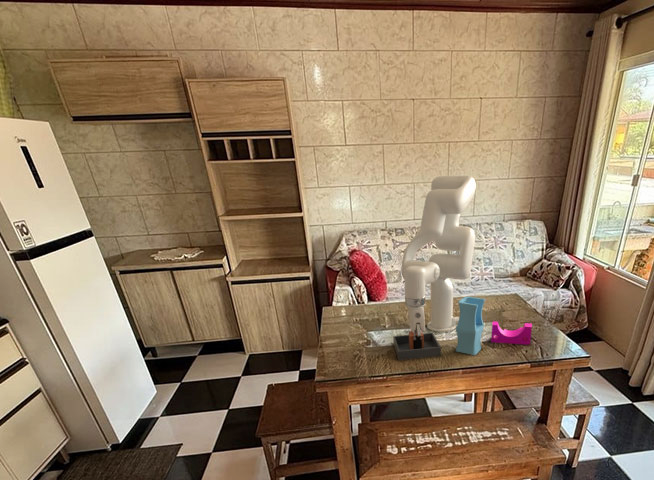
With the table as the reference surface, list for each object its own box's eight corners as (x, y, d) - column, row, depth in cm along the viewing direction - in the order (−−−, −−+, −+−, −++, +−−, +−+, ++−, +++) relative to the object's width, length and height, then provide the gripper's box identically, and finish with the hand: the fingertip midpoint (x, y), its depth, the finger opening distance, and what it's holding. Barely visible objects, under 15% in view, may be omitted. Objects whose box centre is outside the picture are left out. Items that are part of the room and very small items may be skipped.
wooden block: (421, 346, 161) (421, 330, 158) (423, 351, 157) (423, 335, 154) (409, 347, 161) (408, 331, 157) (411, 353, 157) (410, 336, 153)
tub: (432, 341, 166) (432, 332, 164) (440, 356, 154) (440, 347, 152) (393, 345, 164) (393, 336, 163) (398, 360, 152) (398, 351, 150)
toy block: (529, 338, 165) (531, 321, 162) (529, 344, 160) (531, 327, 157) (491, 335, 169) (493, 319, 165) (491, 342, 164) (492, 324, 160)
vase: (474, 356, 153) (477, 305, 143) (455, 351, 157) (456, 302, 147) (482, 348, 159) (485, 298, 149) (463, 344, 163) (465, 295, 153)
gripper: (430, 307, 142) (430, 354, 151) (421, 293, 157) (421, 336, 166) (409, 309, 141) (410, 356, 150) (401, 294, 156) (403, 337, 165)
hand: (416, 345), depth 158 cm, fingers closed on wooden block, 5 cm apart
